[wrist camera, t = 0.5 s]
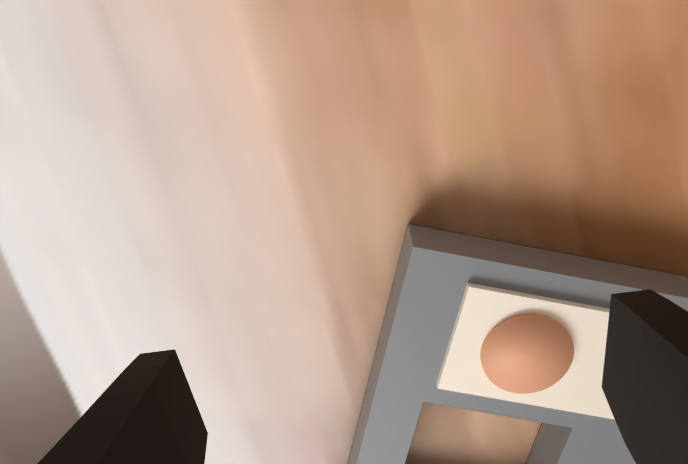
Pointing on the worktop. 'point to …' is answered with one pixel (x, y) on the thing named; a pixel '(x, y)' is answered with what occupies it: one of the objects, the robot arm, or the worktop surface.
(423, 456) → the worktop surface
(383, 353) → the board
